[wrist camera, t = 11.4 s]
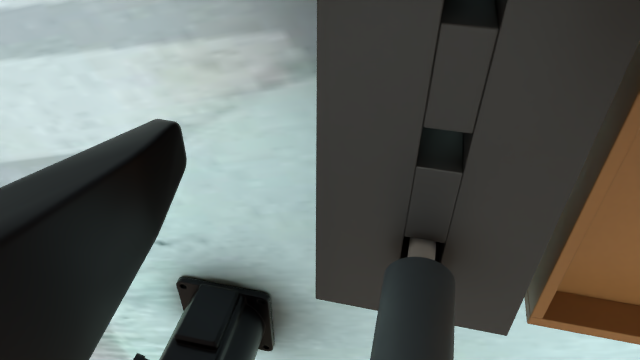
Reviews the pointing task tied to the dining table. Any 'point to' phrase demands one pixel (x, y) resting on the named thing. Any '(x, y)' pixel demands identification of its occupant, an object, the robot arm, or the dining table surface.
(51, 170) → the robot arm
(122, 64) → the dining table surface
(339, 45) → the rack
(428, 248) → the screwdriver
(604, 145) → the tray
